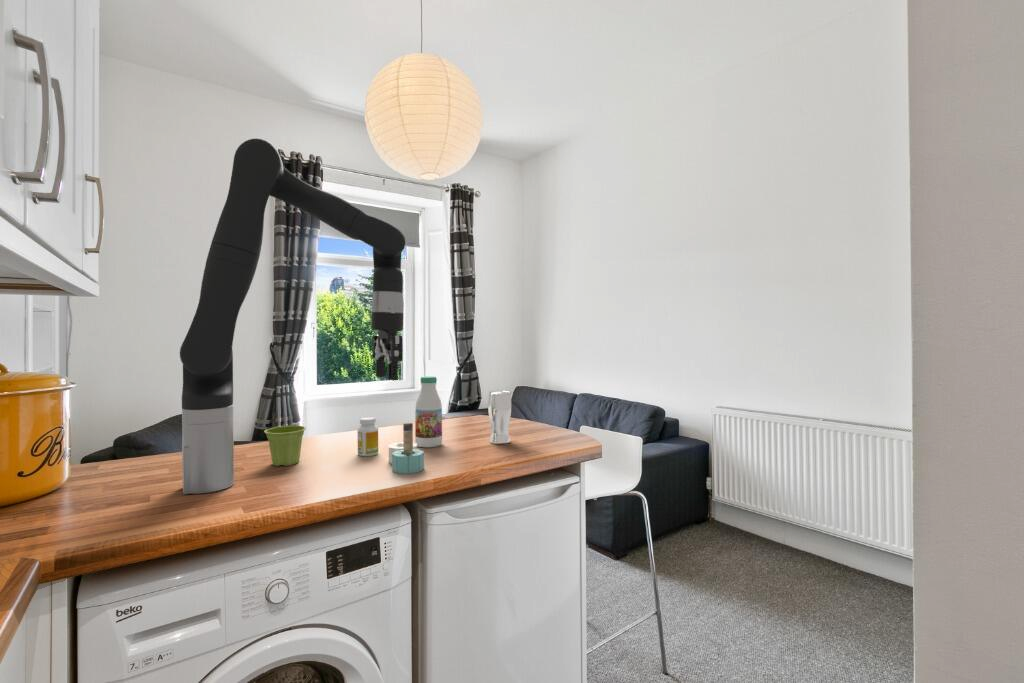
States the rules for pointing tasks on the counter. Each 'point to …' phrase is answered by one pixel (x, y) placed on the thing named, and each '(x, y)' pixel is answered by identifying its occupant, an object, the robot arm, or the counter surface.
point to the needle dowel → (408, 438)
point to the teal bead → (407, 461)
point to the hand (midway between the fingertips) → (386, 378)
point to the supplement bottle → (367, 437)
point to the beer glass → (499, 416)
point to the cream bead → (397, 447)
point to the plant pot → (285, 444)
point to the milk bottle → (428, 415)
